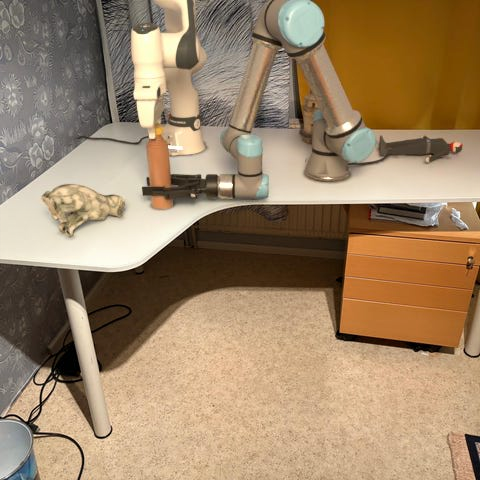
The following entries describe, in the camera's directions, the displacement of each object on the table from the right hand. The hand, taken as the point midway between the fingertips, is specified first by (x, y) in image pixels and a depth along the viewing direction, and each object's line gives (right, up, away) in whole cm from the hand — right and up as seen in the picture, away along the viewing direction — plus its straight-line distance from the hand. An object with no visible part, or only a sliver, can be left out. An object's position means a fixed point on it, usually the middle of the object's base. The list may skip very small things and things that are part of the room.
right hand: (144, 186), depth 166 cm
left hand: (+5, +15, -8) cm, 18 cm away
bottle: (+5, -6, +3) cm, 8 cm away
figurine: (-15, -13, -9) cm, 22 cm away
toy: (+98, +16, +38) cm, 106 cm away
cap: (+5, +16, -9) cm, 19 cm away
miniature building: (+61, +24, +54) cm, 85 cm away
